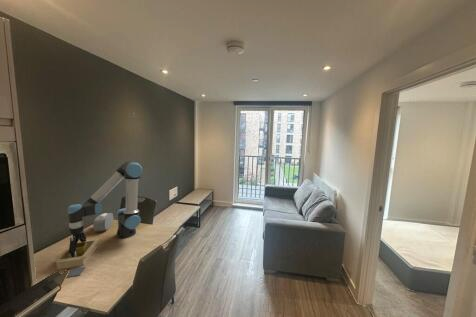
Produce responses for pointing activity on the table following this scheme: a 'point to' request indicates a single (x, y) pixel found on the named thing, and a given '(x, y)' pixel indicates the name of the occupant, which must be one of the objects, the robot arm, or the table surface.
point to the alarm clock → (103, 222)
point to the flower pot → (80, 249)
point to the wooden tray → (67, 262)
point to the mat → (75, 271)
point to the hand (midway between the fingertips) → (78, 255)
